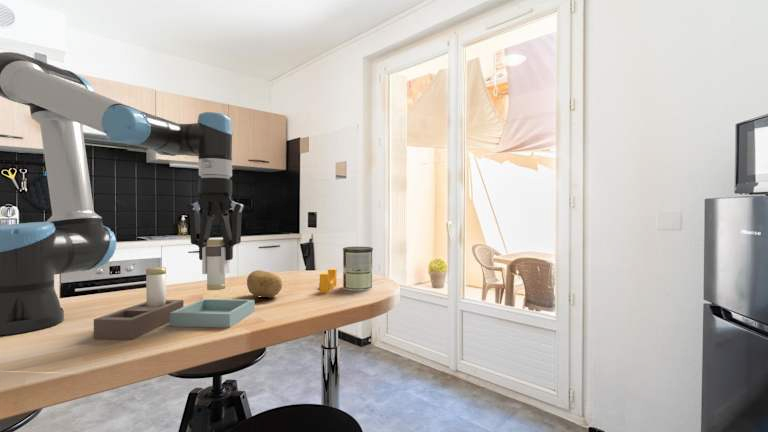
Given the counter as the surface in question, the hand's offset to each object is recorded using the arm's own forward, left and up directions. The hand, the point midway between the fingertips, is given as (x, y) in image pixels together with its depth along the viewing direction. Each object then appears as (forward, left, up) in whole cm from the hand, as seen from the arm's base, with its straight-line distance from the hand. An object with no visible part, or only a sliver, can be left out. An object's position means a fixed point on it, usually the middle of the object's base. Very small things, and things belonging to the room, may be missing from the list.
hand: (216, 273), depth 93 cm
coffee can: (+30, +40, -11) cm, 51 cm away
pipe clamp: (+19, +37, -12) cm, 43 cm away
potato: (+3, +23, -11) cm, 26 cm away
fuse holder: (-13, -7, -11) cm, 19 cm away
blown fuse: (0, 0, -4) cm, 4 cm away
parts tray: (0, 0, -11) cm, 11 cm away
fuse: (-13, -3, -11) cm, 17 cm away
